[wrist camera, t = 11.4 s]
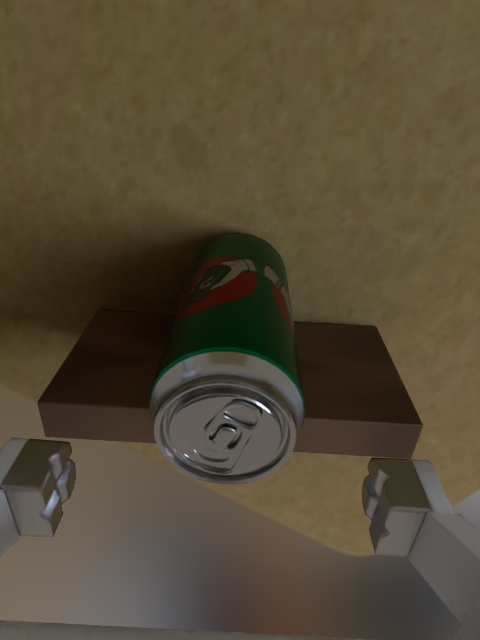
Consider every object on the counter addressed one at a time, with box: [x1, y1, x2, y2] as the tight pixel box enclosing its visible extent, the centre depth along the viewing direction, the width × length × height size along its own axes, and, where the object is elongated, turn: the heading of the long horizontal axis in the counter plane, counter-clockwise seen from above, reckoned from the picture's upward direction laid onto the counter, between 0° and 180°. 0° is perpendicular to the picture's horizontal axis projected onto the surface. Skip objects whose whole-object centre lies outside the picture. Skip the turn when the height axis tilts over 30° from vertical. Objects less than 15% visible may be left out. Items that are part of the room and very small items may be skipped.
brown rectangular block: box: [37, 310, 423, 459], centre depth 22 cm, size 16×5×8 cm, turn 87°
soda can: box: [149, 233, 306, 485], centre depth 18 cm, size 5×5×12 cm
